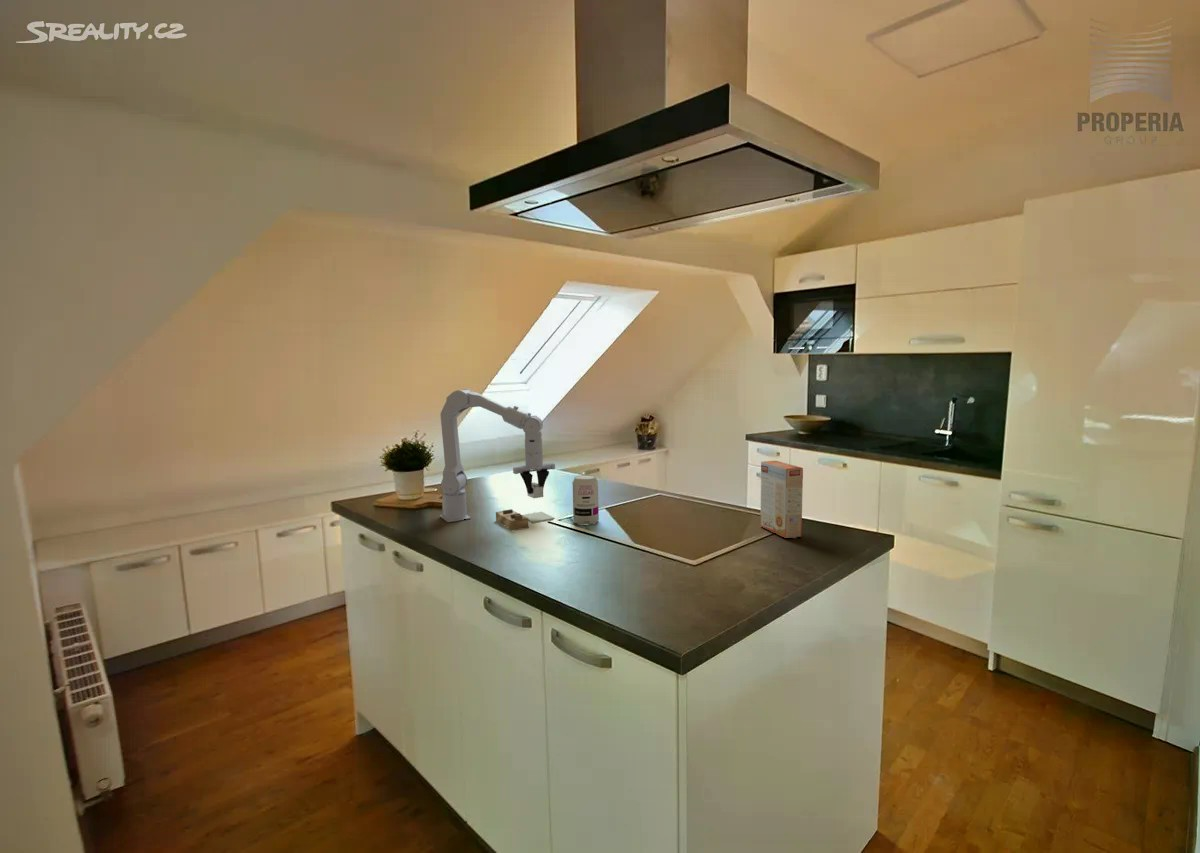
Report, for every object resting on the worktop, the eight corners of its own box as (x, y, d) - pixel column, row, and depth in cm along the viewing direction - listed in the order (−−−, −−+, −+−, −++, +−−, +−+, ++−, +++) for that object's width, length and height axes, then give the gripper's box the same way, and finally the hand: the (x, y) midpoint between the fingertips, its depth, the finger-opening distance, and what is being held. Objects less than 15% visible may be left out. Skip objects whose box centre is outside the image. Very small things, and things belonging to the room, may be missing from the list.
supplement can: (590, 517, 195) (589, 473, 193) (603, 523, 188) (602, 477, 186) (569, 521, 190) (568, 476, 189) (581, 527, 183) (580, 480, 182)
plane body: (496, 520, 193) (495, 509, 192) (511, 518, 196) (511, 506, 195) (512, 530, 181) (512, 518, 180) (528, 527, 184) (528, 515, 183)
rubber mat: (520, 516, 197) (520, 515, 197) (541, 513, 201) (541, 511, 201) (532, 523, 189) (532, 521, 189) (554, 519, 193) (554, 517, 193)
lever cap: (527, 495, 195) (527, 483, 195) (537, 494, 197) (536, 481, 197) (533, 498, 191) (533, 485, 190) (543, 496, 193) (543, 484, 192)
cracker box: (803, 538, 167) (804, 467, 165) (784, 540, 166) (785, 468, 163) (776, 525, 181) (777, 459, 178) (759, 527, 179) (760, 460, 177)
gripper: (518, 456, 185) (520, 497, 187) (558, 451, 193) (559, 491, 194) (510, 453, 191) (511, 493, 193) (549, 449, 199) (550, 488, 200)
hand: (535, 492), depth 194 cm, fingers closed on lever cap, 3 cm apart
